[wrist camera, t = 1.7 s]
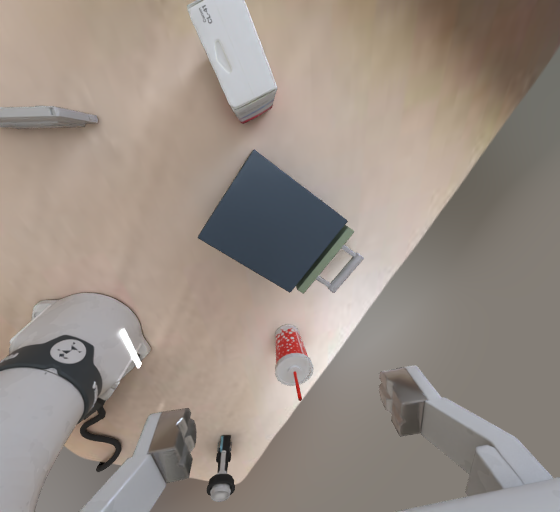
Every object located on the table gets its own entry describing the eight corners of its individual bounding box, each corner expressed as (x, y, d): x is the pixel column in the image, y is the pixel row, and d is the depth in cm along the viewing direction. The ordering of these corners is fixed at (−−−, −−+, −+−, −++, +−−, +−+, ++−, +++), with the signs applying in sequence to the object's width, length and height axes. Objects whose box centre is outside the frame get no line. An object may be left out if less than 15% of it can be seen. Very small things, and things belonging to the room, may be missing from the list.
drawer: (362, 237, 43) (379, 250, 37) (318, 288, 45) (328, 309, 40) (270, 168, 37) (273, 171, 31) (227, 231, 40) (223, 245, 34)
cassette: (1, 130, 33) (-68, 125, 26) (-6, 113, 32) (-78, 103, 25) (101, 127, 34) (61, 121, 27) (96, 111, 33) (55, 100, 26)
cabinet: (330, 208, 41) (348, 221, 34) (283, 268, 44) (290, 293, 37) (253, 149, 37) (253, 149, 29) (207, 221, 40) (197, 237, 32)
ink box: (272, 109, 35) (283, 90, 24) (239, 126, 35) (234, 115, 25) (243, 34, 32) (238, -26, 21) (206, 54, 32) (183, 5, 21)
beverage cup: (264, 338, 49) (269, 405, 36) (283, 315, 48) (296, 376, 35) (290, 352, 51) (303, 420, 38) (309, 330, 50) (330, 393, 37)
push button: (236, 452, 61) (233, 507, 52) (213, 454, 60) (206, 509, 51) (237, 433, 58) (234, 486, 49) (212, 434, 58) (205, 488, 48)
